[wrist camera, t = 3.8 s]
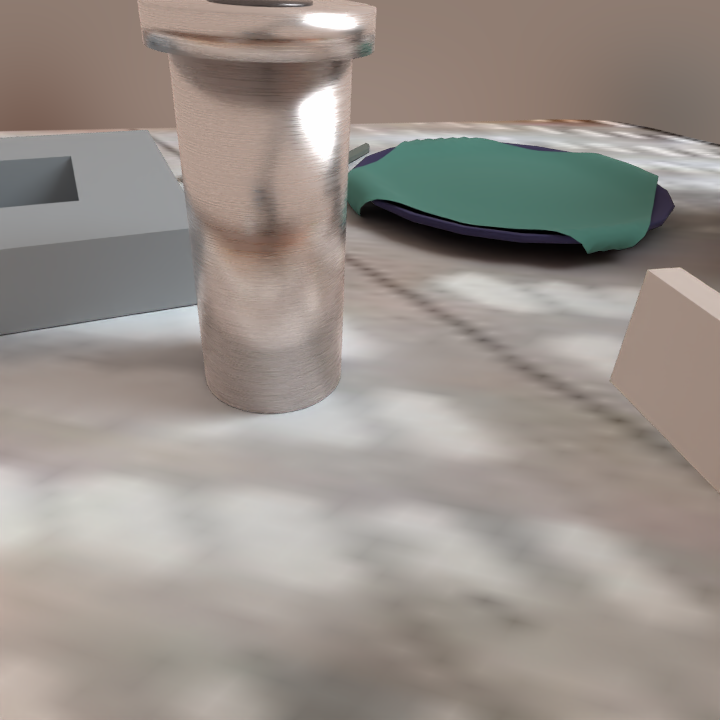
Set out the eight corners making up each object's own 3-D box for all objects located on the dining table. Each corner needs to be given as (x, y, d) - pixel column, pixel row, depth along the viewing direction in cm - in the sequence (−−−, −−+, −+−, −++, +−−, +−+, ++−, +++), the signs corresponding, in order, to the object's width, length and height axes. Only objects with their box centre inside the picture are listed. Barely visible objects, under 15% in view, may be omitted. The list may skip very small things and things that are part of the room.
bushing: (321, 318, 26) (326, -8, 20) (384, 401, 22) (418, 12, 15) (175, 344, 24) (123, -13, 17) (209, 443, 20) (157, 8, 13)
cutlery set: (657, 303, 29) (672, 258, 28) (157, 198, 39) (151, 161, 38) (669, 192, 45) (679, 159, 43) (307, 136, 55) (307, 109, 53)
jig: (155, 186, 39) (147, 129, 37) (211, 301, 27) (204, 226, 25) (-149, 213, 33) (-178, 147, 31) (-248, 373, 21) (-305, 283, 19)
